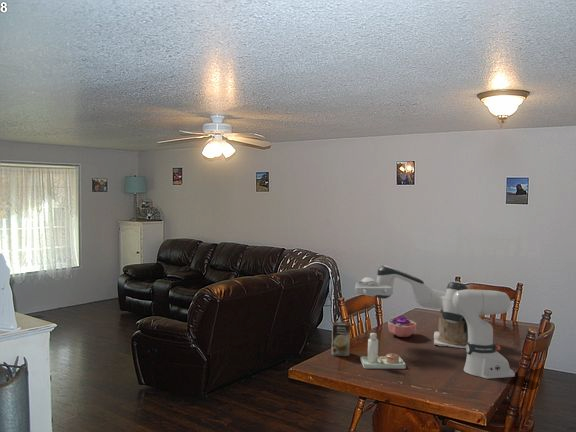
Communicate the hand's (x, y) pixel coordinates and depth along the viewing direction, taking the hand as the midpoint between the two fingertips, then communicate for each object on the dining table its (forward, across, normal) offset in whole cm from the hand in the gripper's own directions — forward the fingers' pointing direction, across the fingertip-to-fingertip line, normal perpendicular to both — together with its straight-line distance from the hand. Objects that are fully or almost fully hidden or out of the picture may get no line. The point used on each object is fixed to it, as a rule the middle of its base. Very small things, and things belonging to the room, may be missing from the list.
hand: (376, 292), depth 268 cm
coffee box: (+2, +19, -32) cm, 37 cm away
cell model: (-33, -22, -32) cm, 51 cm away
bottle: (+19, +5, -31) cm, 36 cm away
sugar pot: (+19, -5, -32) cm, 37 cm away
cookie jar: (-21, -50, -32) cm, 63 cm away
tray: (+19, 0, -32) cm, 37 cm away
